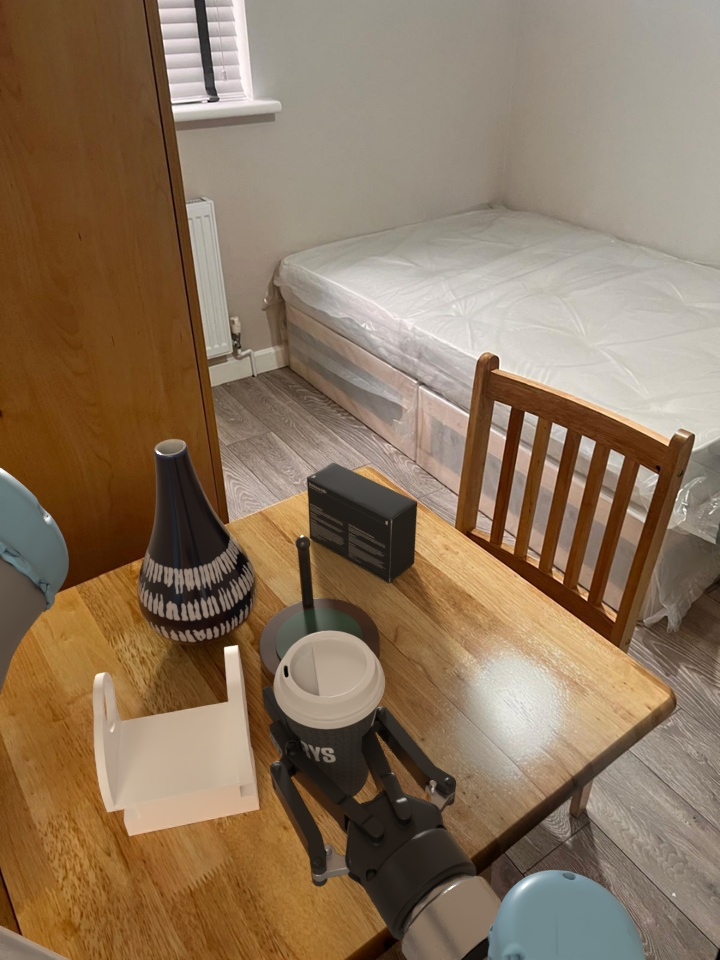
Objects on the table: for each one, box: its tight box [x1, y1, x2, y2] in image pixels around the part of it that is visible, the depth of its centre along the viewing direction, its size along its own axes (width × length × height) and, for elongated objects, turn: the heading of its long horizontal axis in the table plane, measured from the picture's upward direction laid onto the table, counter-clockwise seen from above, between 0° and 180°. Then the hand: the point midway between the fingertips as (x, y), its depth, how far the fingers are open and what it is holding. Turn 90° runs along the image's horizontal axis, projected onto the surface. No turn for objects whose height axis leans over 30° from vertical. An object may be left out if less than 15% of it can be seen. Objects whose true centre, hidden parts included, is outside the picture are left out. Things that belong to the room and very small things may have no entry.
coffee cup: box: [273, 631, 386, 798], centre depth 66 cm, size 10×10×15 cm
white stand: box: [92, 644, 260, 837], centre depth 76 cm, size 14×13×18 cm
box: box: [306, 461, 418, 584], centre depth 112 cm, size 17×7×12 cm, turn 49°
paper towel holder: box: [258, 535, 381, 685], centre depth 94 cm, size 16×16×14 cm
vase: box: [136, 438, 259, 647], centre depth 94 cm, size 16×16×30 cm
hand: (290, 685), depth 68 cm, fingers closed on coffee cup, 4 cm apart
